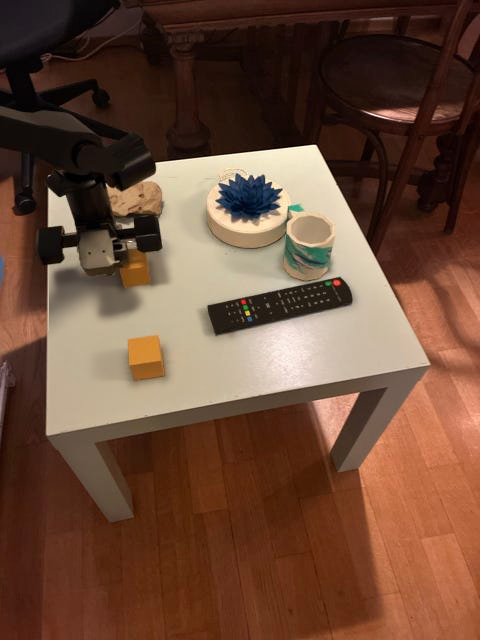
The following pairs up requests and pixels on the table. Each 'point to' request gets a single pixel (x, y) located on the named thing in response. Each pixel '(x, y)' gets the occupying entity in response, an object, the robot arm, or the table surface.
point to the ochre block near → (145, 357)
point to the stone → (136, 199)
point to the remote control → (279, 304)
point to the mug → (307, 243)
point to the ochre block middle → (135, 269)
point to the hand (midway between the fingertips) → (110, 274)
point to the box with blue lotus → (247, 210)
